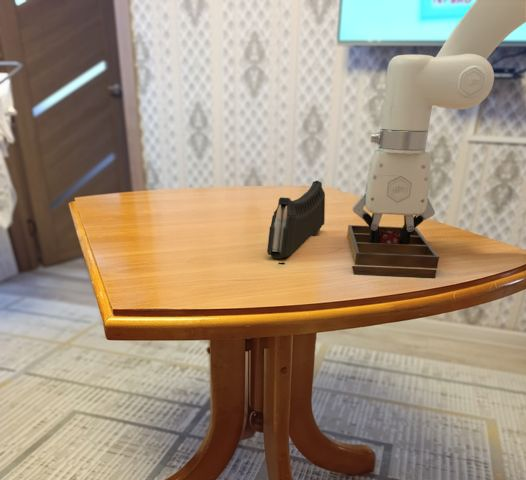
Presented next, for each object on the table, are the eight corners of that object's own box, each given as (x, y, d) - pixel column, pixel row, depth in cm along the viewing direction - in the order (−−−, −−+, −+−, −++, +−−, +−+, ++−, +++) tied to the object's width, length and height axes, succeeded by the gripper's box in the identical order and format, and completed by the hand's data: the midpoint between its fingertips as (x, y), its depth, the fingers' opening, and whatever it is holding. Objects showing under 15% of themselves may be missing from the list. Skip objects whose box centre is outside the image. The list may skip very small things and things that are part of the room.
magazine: (314, 184, 109) (277, 154, 81) (329, 185, 108) (297, 155, 80) (304, 264, 112) (264, 262, 84) (318, 266, 111) (283, 265, 83)
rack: (413, 245, 100) (416, 227, 99) (435, 278, 83) (439, 256, 81) (346, 243, 101) (348, 224, 100) (353, 274, 84) (356, 253, 82)
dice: (371, 251, 92) (374, 229, 90) (387, 247, 94) (390, 226, 92) (387, 256, 89) (390, 233, 87) (404, 252, 91) (407, 230, 89)
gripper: (352, 142, 80) (342, 255, 89) (460, 145, 79) (439, 259, 87) (349, 138, 87) (339, 244, 95) (449, 141, 86) (430, 248, 94)
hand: (387, 250), depth 91 cm, fingers closed on dice, 4 cm apart
